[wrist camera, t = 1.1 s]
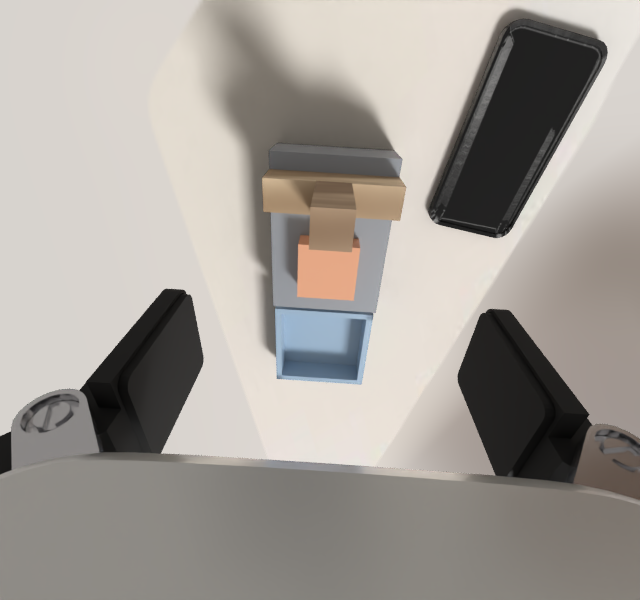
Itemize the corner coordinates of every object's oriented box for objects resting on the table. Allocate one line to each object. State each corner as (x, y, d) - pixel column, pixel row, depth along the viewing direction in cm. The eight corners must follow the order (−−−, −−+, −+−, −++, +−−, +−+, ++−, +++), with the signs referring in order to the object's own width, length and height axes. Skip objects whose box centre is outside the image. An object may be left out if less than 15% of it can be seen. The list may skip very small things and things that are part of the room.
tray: (279, 293, 36) (275, 308, 34) (370, 299, 36) (373, 315, 34) (280, 361, 42) (276, 378, 39) (360, 366, 42) (361, 384, 39)
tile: (300, 234, 28) (298, 244, 27) (358, 238, 28) (360, 248, 27) (299, 285, 31) (297, 296, 29) (352, 289, 31) (353, 300, 29)
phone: (426, 221, 31) (512, 14, 23) (424, 217, 32) (505, 17, 24) (506, 240, 31) (616, 45, 23) (501, 236, 32) (605, 46, 24)
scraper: (269, 168, 26) (241, 202, 18) (399, 176, 25) (426, 214, 18) (270, 200, 27) (244, 245, 19) (393, 208, 27) (416, 256, 19)
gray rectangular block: (276, 143, 28) (268, 150, 25) (394, 150, 28) (402, 159, 25) (279, 285, 36) (273, 306, 32) (371, 291, 36) (375, 312, 32)
